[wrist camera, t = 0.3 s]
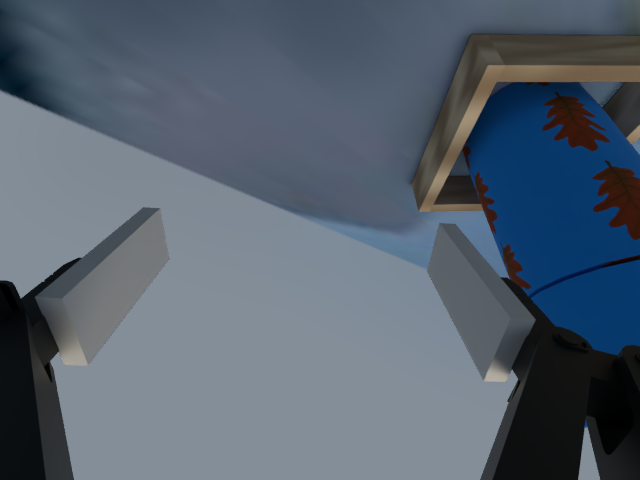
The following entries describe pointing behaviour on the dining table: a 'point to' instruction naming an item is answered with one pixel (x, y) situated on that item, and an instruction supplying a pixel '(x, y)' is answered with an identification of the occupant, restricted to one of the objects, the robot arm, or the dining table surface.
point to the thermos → (563, 206)
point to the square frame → (520, 66)
